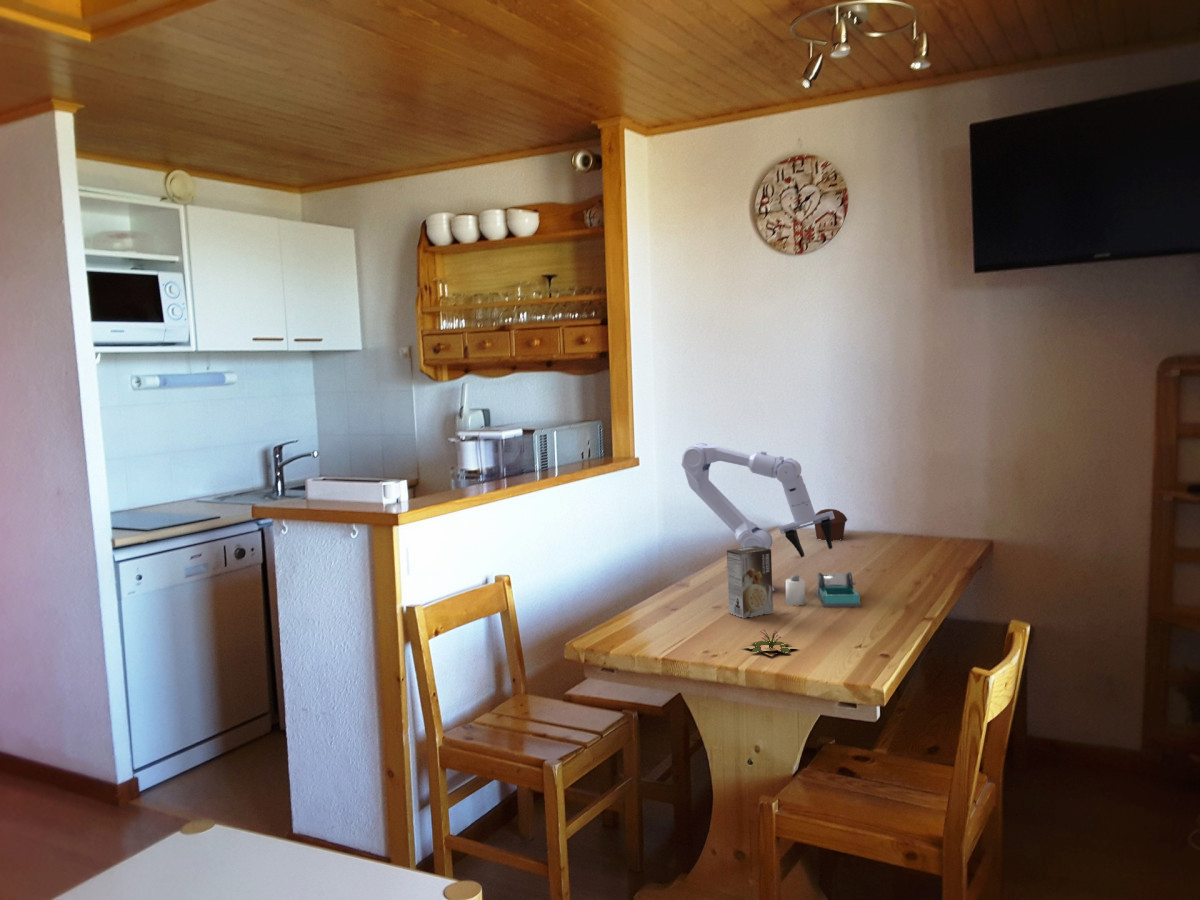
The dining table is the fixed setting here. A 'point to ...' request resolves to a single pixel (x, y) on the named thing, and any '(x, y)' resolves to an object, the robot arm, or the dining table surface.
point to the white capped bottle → (795, 590)
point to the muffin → (832, 525)
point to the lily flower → (769, 643)
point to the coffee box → (750, 581)
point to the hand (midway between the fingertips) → (816, 552)
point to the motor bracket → (837, 590)
